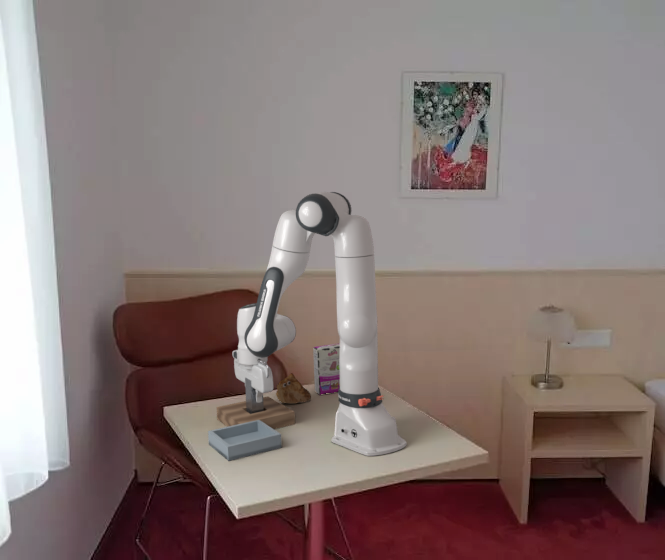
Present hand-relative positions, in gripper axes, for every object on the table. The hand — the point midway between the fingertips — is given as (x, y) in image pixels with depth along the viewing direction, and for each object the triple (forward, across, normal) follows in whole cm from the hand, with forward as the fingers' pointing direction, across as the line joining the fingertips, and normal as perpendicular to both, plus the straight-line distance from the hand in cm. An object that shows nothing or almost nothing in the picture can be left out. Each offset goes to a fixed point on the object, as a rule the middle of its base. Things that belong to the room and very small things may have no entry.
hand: (254, 399), depth 215 cm
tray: (+7, -16, +11) cm, 21 cm away
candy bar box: (+7, +12, -35) cm, 38 cm away
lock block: (+7, 0, 0) cm, 7 cm away
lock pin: (+7, 0, 0) cm, 7 cm away
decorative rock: (+7, +9, -18) cm, 21 cm away
